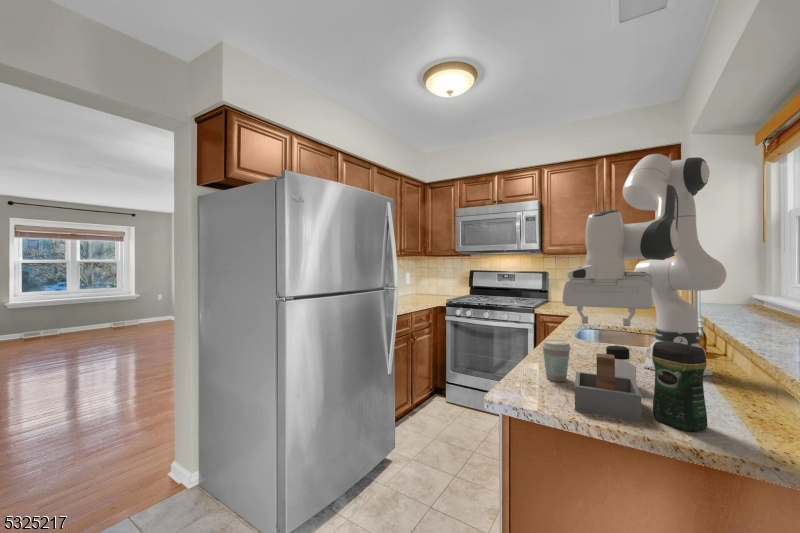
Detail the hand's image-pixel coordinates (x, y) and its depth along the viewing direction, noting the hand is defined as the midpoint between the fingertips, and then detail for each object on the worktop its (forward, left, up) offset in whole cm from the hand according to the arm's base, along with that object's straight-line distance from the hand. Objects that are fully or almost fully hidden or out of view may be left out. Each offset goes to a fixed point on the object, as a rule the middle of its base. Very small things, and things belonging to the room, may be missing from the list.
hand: (605, 324), depth 91 cm
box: (0, 0, -21) cm, 21 cm away
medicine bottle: (-19, +4, -21) cm, 29 cm away
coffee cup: (-17, -13, -21) cm, 30 cm away
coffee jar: (+4, +14, -21) cm, 26 cm away
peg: (0, 0, -21) cm, 21 cm away
